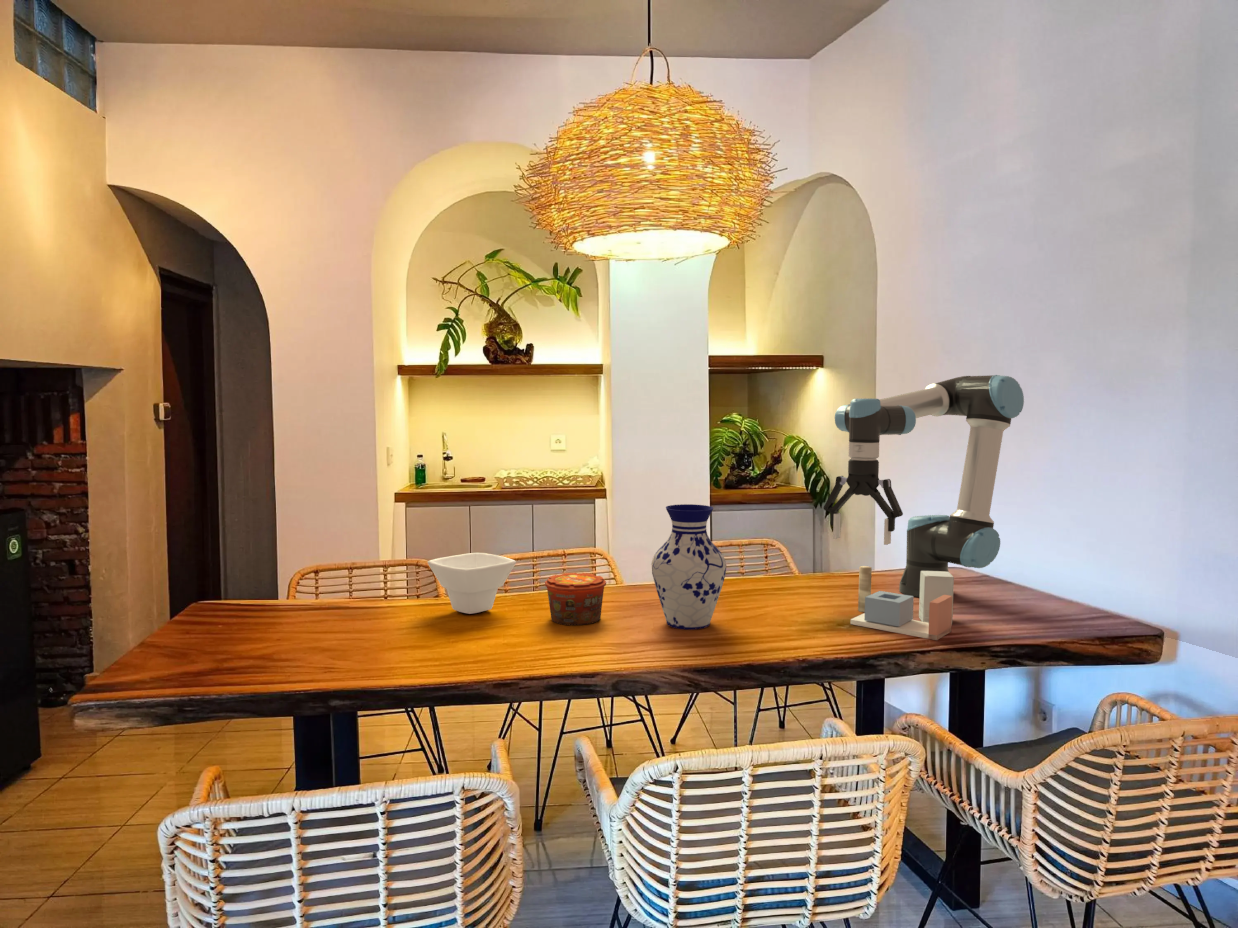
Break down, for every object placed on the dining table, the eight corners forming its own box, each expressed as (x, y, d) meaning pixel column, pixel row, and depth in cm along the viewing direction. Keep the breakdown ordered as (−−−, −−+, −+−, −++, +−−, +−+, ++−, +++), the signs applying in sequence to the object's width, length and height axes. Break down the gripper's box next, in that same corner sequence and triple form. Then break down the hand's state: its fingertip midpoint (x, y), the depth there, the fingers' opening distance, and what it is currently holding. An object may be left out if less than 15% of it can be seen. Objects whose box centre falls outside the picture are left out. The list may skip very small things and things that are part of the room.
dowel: (861, 608, 236) (862, 565, 235) (872, 610, 234) (873, 567, 232) (856, 610, 233) (857, 567, 232) (867, 612, 231) (868, 568, 230)
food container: (534, 623, 219) (534, 582, 218) (560, 609, 234) (560, 570, 233) (592, 630, 213) (592, 587, 213) (615, 614, 228) (615, 574, 228)
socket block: (879, 613, 225) (879, 590, 224) (912, 619, 219) (913, 596, 219) (864, 620, 218) (865, 596, 217) (899, 626, 212) (899, 602, 212)
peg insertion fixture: (866, 616, 228) (867, 582, 227) (951, 631, 213) (952, 595, 213) (850, 623, 220) (851, 589, 219) (936, 640, 206) (938, 603, 205)
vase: (732, 617, 225) (734, 504, 223) (716, 637, 207) (718, 514, 205) (662, 611, 231) (663, 501, 229) (641, 629, 214) (642, 510, 211)
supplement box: (952, 625, 219) (954, 576, 218) (922, 624, 220) (923, 575, 219) (947, 618, 226) (949, 571, 225) (918, 616, 227) (919, 569, 226)
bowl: (522, 611, 231) (522, 560, 230) (464, 625, 217) (463, 571, 216) (479, 599, 244) (479, 551, 243) (421, 612, 230) (420, 560, 229)
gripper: (812, 457, 224) (810, 537, 226) (906, 462, 209) (904, 548, 211) (824, 455, 230) (822, 533, 232) (917, 460, 215) (914, 544, 216)
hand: (861, 541), depth 221 cm, fingers open, 13 cm apart
